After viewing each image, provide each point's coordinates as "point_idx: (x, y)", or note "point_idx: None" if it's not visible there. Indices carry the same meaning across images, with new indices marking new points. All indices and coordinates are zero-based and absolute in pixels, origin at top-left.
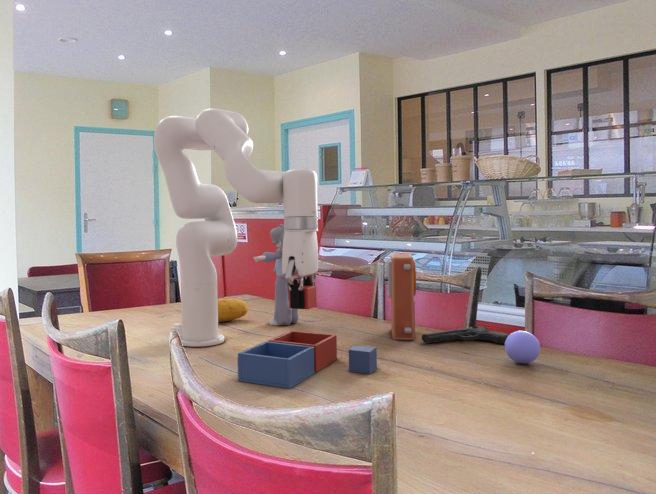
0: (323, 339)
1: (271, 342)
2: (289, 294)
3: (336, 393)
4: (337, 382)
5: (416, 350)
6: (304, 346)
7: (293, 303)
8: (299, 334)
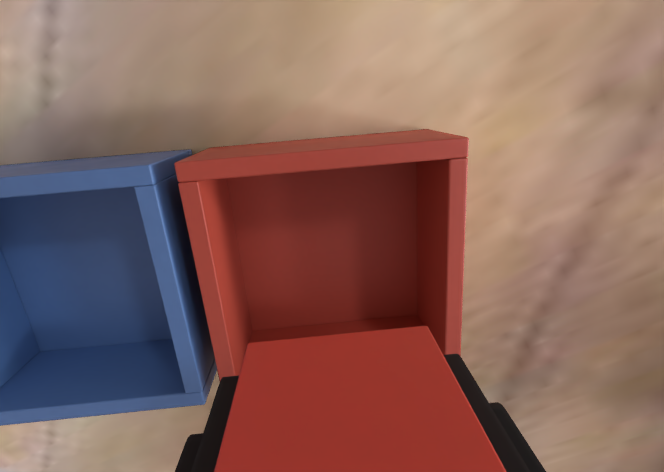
0: (437, 316)
1: (149, 208)
2: (220, 450)
3: (103, 463)
4: (189, 426)
5: (633, 457)
6: (182, 375)
7: (191, 446)
8: (443, 200)
